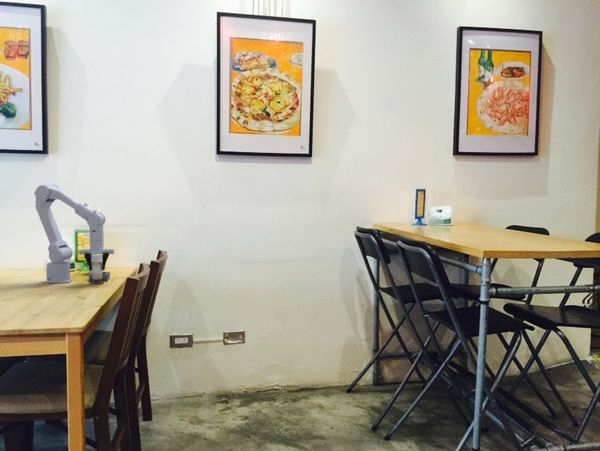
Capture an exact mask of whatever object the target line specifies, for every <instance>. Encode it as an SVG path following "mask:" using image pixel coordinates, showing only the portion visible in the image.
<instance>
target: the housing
mask: <svg viewBox="0 0 600 451" xmlns="http://www.w3.org/2000/svg"><path fill="white" fill-rule="evenodd" d="M102 273H103V278H102V279H92V272H91V273H90V274H88V282H89V283H90V282H92V281H104V282H108V281H110V278H111V276H110V275H111V272H110V271H103V272H102Z"/></svg>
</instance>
